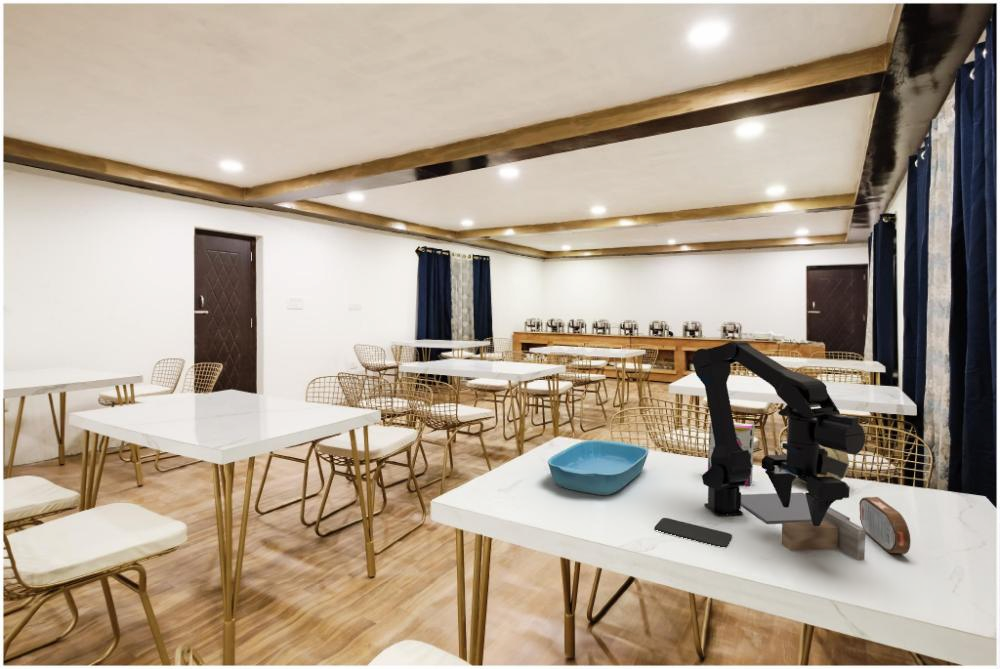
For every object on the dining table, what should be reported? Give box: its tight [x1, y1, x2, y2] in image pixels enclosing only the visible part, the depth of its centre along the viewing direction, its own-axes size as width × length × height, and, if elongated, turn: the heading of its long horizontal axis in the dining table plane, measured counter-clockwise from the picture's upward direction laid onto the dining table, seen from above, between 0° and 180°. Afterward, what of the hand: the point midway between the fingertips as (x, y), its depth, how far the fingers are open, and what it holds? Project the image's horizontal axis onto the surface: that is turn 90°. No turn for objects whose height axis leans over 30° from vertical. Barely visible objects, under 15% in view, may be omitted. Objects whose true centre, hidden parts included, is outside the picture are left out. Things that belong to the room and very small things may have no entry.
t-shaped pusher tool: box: [780, 509, 867, 561], centre depth 104 cm, size 12×12×6 cm
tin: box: [859, 496, 912, 555], centre depth 106 cm, size 15×3×8 cm, turn 168°
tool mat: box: [741, 492, 851, 525], centre depth 124 cm, size 20×16×1 cm
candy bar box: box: [707, 421, 755, 487], centre depth 143 cm, size 11×5×16 cm, turn 58°
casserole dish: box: [547, 439, 649, 496], centre depth 146 cm, size 37×22×7 cm, turn 148°
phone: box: [654, 517, 733, 548], centre depth 111 cm, size 7×1×15 cm
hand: (800, 516), depth 104 cm, fingers open, 9 cm apart
